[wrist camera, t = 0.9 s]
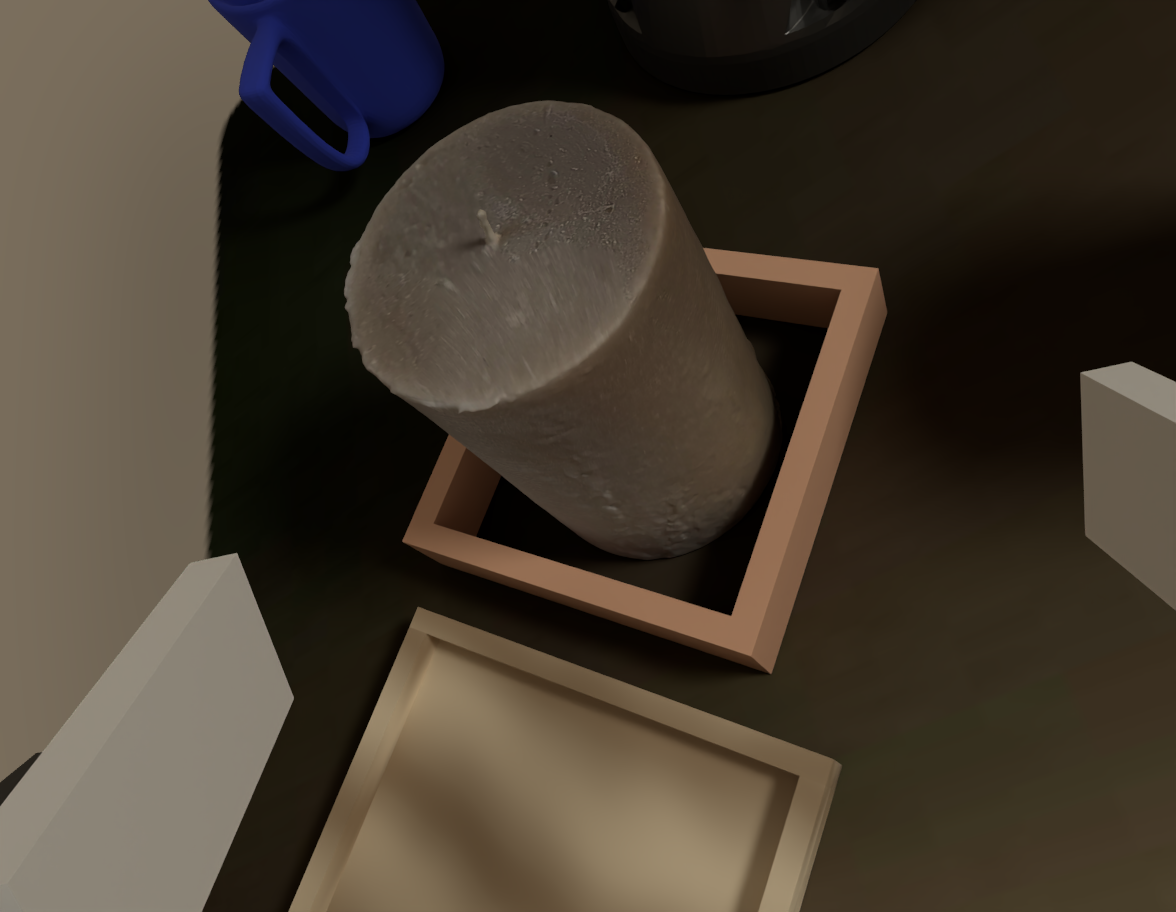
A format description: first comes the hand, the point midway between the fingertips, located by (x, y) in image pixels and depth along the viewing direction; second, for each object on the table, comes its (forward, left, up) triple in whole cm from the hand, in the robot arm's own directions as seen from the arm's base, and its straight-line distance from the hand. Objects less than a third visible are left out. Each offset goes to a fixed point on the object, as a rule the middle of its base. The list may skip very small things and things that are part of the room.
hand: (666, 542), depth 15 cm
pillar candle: (-8, -10, -19) cm, 22 cm away
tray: (+8, -8, -19) cm, 22 cm away
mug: (-22, -31, -19) cm, 42 cm away
